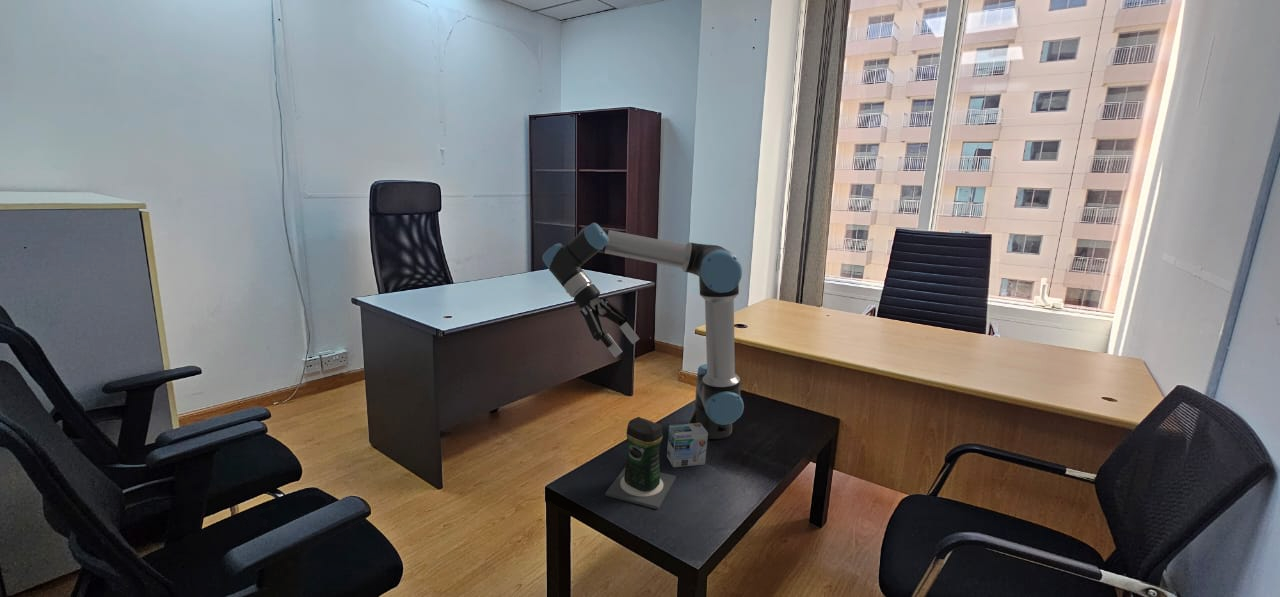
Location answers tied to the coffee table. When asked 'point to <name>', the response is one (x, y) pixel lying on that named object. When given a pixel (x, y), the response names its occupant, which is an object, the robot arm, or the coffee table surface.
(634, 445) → the coffee jar
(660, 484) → the marker mat
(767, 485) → the coffee table surface
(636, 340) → the robot arm
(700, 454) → the light bulb box
